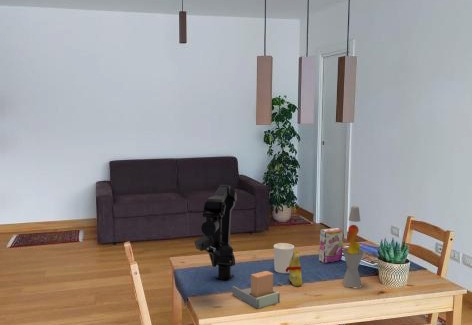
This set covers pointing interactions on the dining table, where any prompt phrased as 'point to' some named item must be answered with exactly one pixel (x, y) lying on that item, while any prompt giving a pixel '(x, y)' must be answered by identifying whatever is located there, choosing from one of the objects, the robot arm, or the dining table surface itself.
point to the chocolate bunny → (295, 269)
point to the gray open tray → (256, 302)
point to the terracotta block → (261, 284)
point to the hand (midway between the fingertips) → (214, 266)
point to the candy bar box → (330, 245)
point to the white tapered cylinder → (282, 256)
